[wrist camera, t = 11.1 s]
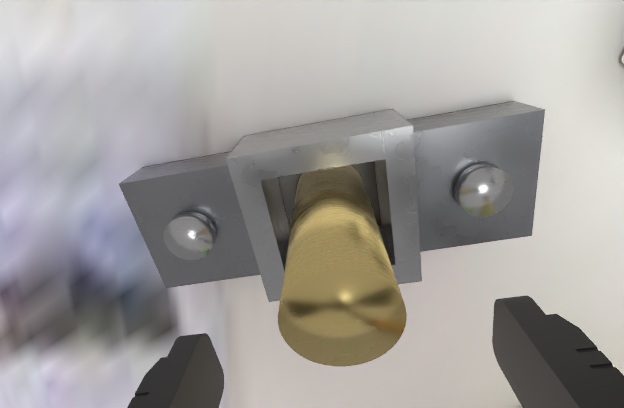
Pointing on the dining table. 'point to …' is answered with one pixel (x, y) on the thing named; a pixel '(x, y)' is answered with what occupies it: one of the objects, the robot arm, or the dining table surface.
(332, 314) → the pin
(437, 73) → the dining table surface
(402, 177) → the bolt keeper plate
